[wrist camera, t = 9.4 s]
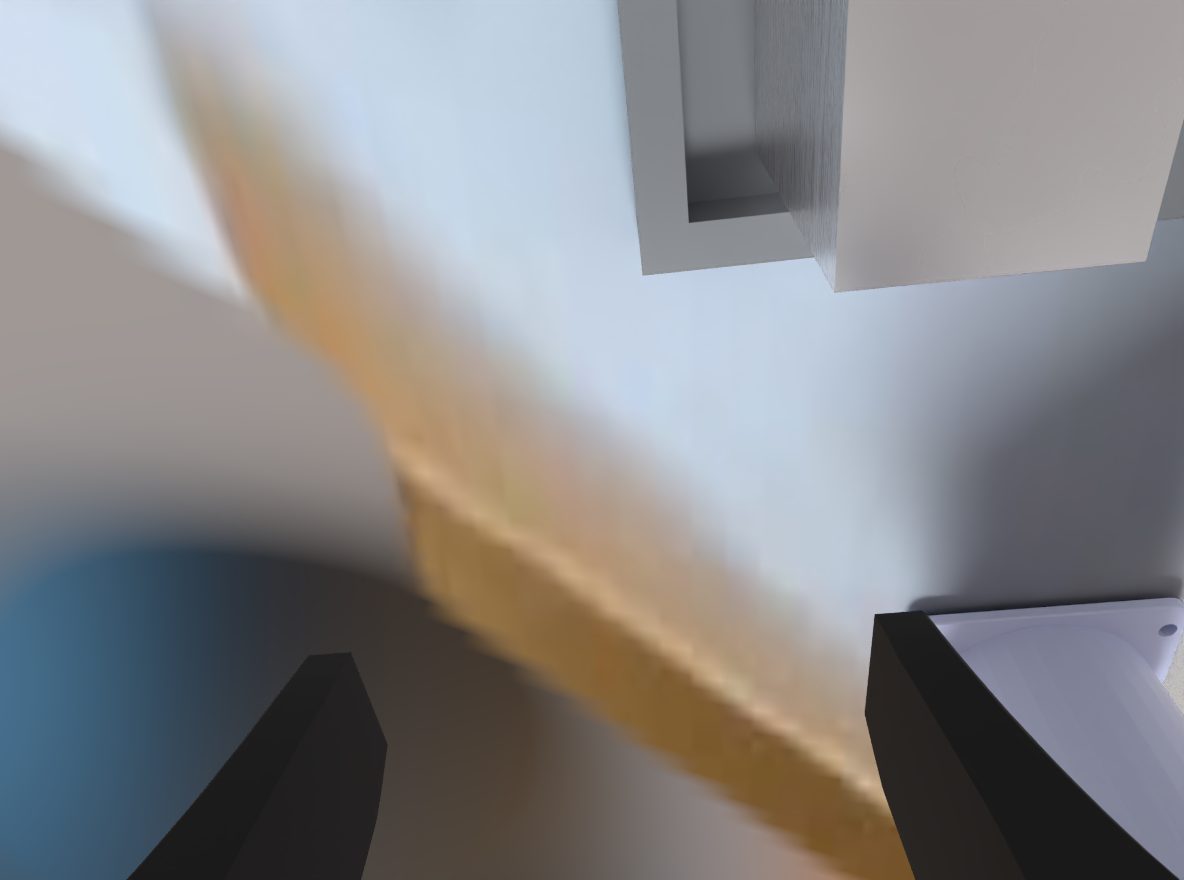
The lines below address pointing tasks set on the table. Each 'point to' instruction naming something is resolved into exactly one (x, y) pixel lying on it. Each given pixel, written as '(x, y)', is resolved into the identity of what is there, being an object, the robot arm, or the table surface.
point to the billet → (968, 132)
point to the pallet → (716, 140)
